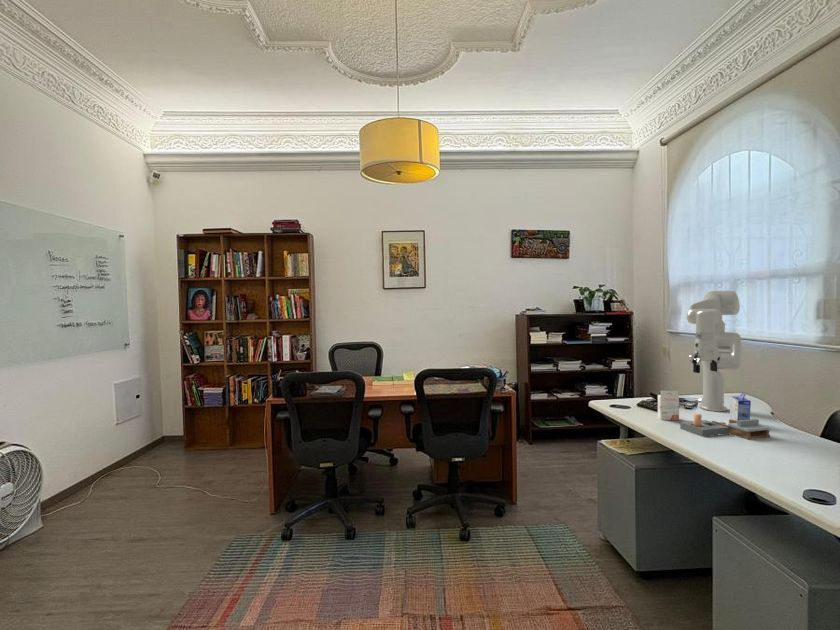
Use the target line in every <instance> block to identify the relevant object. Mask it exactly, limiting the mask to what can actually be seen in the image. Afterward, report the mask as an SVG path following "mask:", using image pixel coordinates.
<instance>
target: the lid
mask: <svg viewBox="0 0 840 630" xmlns="http://www.w3.org/2000/svg"><path fill="white" fill-rule="evenodd" d="M759 422H760V420H759V419H758V418H752V419H751V418H750V419H749V420H738V421H737V423H730V424H728V423H727V424H728V426H730V427H734V428H737V429H740V430H743V431H746V432H751V431H761V430H769V427H768V426H765V425H762V424H760V423H759Z"/></svg>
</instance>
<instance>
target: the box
mask: <svg viewBox="0 0 840 630" xmlns="http://www.w3.org/2000/svg"><path fill="white" fill-rule="evenodd" d="M711 422H713V423H716V424H719V425H722V426H726V427H729V433H730V434H729V435H732V434H733V436H735V435H736V436H735V437H739V438H741V439H745V440H757V439H765V438H768V439H769V438H771V435H770V430H769V429H768V430H761V431H751V432H746V431H743V430H740V429H737V428H734V427H730V426H728V424H730V423H737V421H735V420H732V419H730V418H729V420H728V423H726V422H722V421H721V422H718V421H715V420H711Z"/></svg>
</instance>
